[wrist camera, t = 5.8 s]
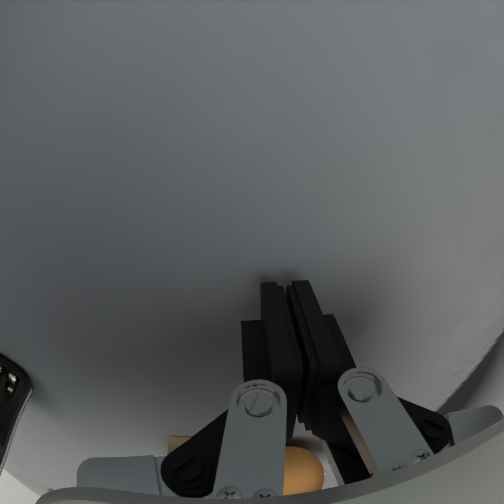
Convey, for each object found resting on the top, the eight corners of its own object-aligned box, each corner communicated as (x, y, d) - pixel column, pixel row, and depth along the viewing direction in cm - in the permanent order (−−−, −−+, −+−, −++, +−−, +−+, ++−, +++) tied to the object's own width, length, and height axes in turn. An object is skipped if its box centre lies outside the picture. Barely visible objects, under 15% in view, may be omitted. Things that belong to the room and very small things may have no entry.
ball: (246, 441, 16) (252, 512, 12) (324, 432, 17) (337, 499, 12) (248, 457, 20) (253, 513, 15) (312, 450, 20) (321, 504, 15)
